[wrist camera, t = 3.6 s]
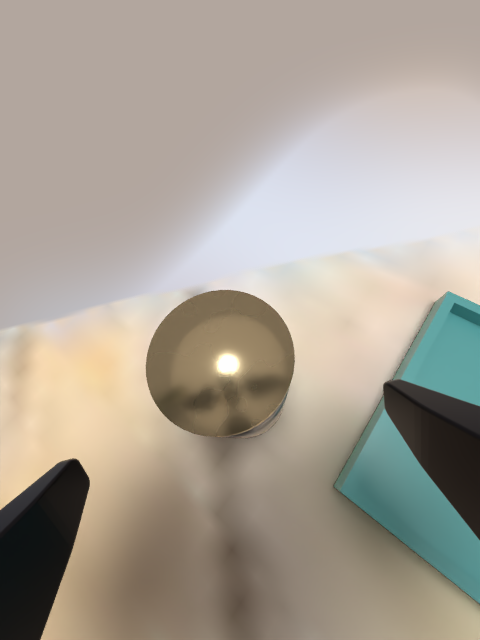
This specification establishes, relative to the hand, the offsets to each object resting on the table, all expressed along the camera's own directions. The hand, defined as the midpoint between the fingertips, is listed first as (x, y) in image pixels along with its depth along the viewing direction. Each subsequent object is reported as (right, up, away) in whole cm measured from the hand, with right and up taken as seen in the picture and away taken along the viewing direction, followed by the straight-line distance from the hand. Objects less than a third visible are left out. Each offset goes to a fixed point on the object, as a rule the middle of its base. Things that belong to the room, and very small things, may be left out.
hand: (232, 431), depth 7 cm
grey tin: (+1, -2, +10) cm, 10 cm away
